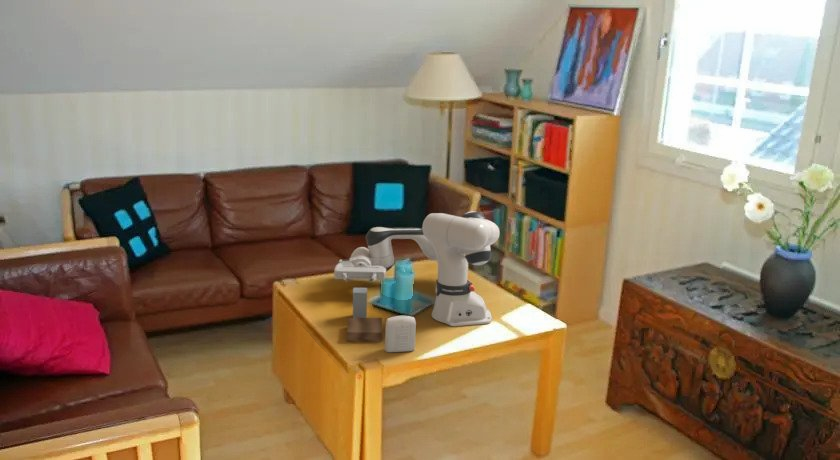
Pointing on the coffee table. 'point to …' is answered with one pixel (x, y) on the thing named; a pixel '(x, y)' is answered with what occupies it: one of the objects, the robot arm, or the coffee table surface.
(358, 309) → the grey pillar
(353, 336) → the walnut block
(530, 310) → the coffee table surface
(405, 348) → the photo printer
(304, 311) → the coffee table surface
